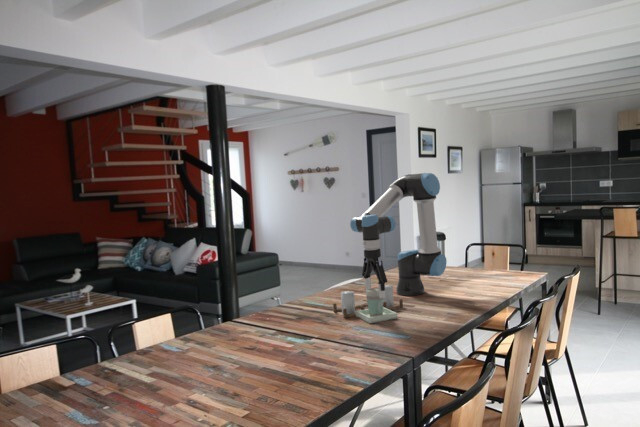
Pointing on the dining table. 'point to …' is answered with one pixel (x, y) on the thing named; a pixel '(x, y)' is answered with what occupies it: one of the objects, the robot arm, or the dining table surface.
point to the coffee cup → (374, 302)
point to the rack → (363, 308)
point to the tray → (366, 316)
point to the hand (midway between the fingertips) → (375, 294)
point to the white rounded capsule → (348, 302)
